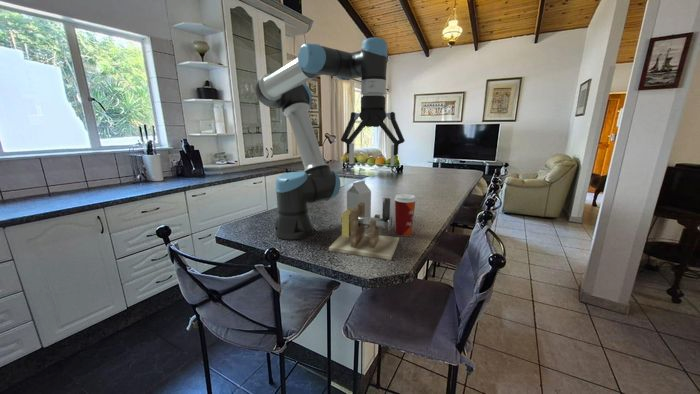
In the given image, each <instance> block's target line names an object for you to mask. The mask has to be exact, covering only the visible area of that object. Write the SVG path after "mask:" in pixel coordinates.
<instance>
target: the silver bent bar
mask: <svg viewBox="0 0 700 394" xmlns="http://www.w3.org/2000/svg"><path fill="white" fill-rule="evenodd" d="M371 220H376V227H380V228H385V229H387V231H391V230H392V225H393V218H392V216H391V198H388V197H383V198H382V218H381V217H380V218H374V217H363V216H359V221H358V225H365V226H368V227H370V221H371ZM340 222H341V223H342V216H341V217H340ZM350 224H351V218H350Z"/></svg>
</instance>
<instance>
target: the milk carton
mask: <svg viewBox="0 0 700 394" xmlns="http://www.w3.org/2000/svg"><path fill="white" fill-rule="evenodd" d="M361 202H363V203H365V217H371V215H372V213H371V212H372V191H371V189H370V188H369V186H367V184H366V181H365V180H361V181H357V182H352V186H351V187H350V188H349V189H348V190H347V191H346V210H348V209H349V208H358V204H359V203H361ZM368 227H369V226H365V225H364V229H365V228H368Z"/></svg>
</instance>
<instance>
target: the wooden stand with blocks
mask: <svg viewBox="0 0 700 394" xmlns="http://www.w3.org/2000/svg"><path fill="white" fill-rule="evenodd" d="M359 216H363V217H365V203H363V202H361V203H359V204H358V208H354V209H352V210H351V236H350V237H342V234H341V235H339V236H338V238H337V239H336V240H335V241H333V243H332V244H330V246H329V247H328V251H329V252H335V253H342V254H349V255H354V256H362V257H367V258H368V257H369V258H375V259H382V260H388V261H392V259H393V257H394V253H395V251H396V249H397V246H398V244H399V242H400V237H398V236H397V237H395V236H390V235H389V236H388V235H380V228H381V227H376V220H371V221H370V226H369V233H366V232H365V228H364V225H358V221H359ZM373 218H381V214H375V215H374V217H373Z"/></svg>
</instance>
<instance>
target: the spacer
mask: <svg viewBox="0 0 700 394" xmlns="http://www.w3.org/2000/svg"><path fill="white" fill-rule="evenodd" d="M352 209H354V208H349V209H348V210H347V209H346V210H344V212H343V213H342V214H341V217H342V222H341V235H342V237H350V236H351V224H350V218H351V210H352Z"/></svg>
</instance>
